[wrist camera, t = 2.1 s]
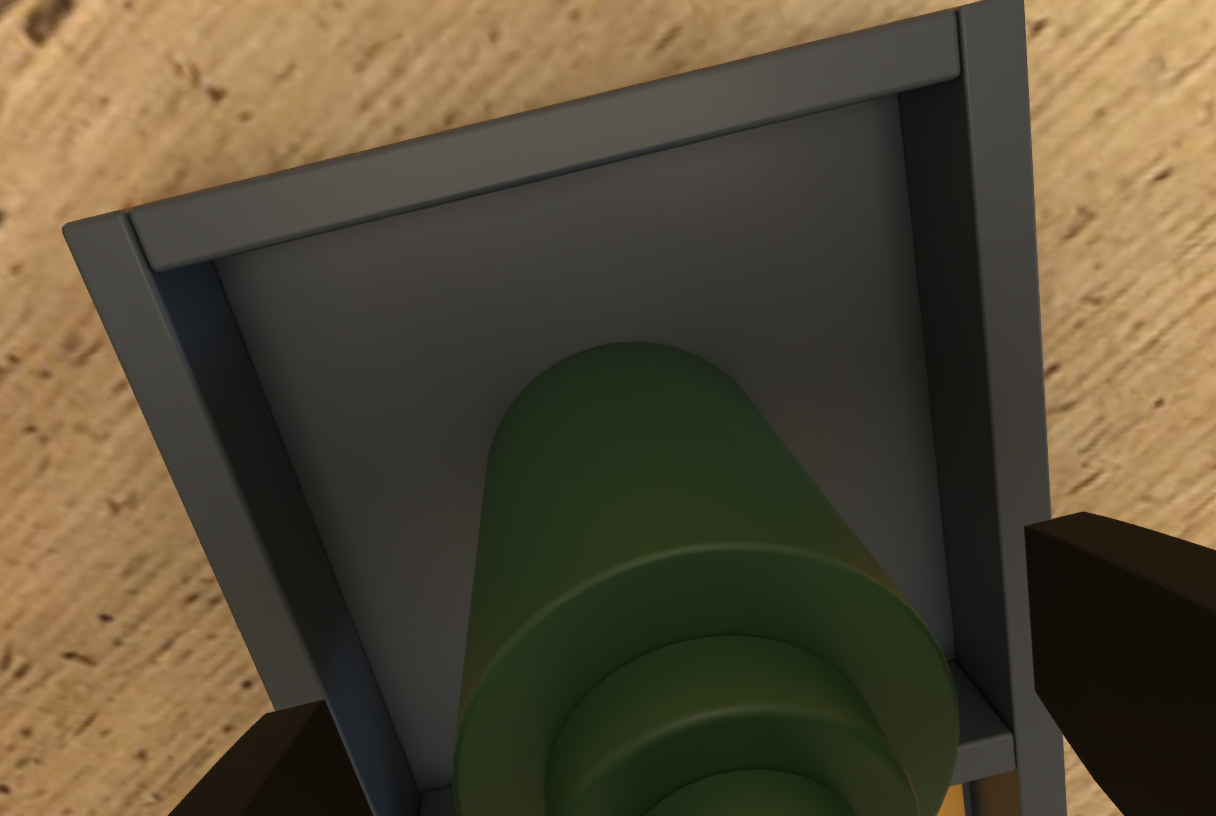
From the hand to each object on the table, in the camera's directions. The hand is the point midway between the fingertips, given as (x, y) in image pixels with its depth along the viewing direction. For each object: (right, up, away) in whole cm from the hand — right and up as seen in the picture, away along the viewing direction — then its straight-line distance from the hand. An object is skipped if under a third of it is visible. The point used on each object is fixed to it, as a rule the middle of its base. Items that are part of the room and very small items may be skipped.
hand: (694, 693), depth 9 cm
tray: (+1, -3, +7) cm, 8 cm away
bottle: (-1, +2, +5) cm, 5 cm away
